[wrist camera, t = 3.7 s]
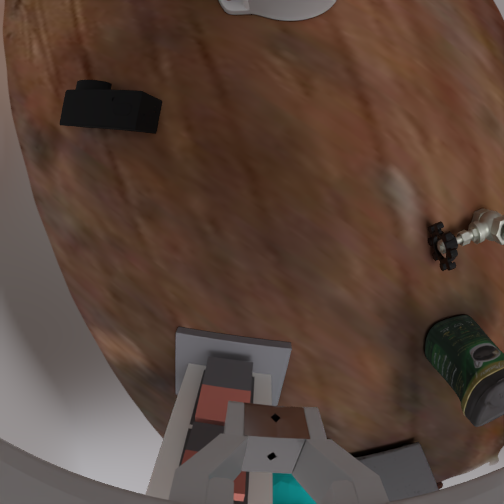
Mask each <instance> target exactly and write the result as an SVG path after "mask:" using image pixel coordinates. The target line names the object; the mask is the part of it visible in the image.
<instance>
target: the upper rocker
mask: <svg viewBox="0 0 504 504" xmlns="http://www.w3.org/2000/svg"><path fill="white" fill-rule="evenodd" d="M221 433H222V434H223V433H224V426H220V425H214V424H208V423H202V422H196V421H194V422H193V426H192V429H191V433H190V436H189V439H188V443H187V446H186V450H185V453H184V457H183V460H182V464H183V463H185V462H186V461H187V460H189V459H190V458H191V457H192V456H194V455H195V454H196V453H197V452H199V451H200V450H201V449H202V448H204V447H205V446H206V445H207V444H209V443H210V442H211V441H212V440H213V439H215V438H216V437H217V436H218V435H219V434H221ZM182 464H181V465H182ZM233 482H234V500H235V501H243V500H244V496H245V482H246V471H241V473H240V474H239V475H238V476H237V477H236V479H235V480H234V481H233Z"/></svg>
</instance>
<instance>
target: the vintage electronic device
mask: <svg viewBox="0 0 504 504" xmlns="http://www.w3.org/2000/svg"><path fill="white" fill-rule="evenodd" d="M354 458H355V457H354ZM356 459H357V460H358V461H360V462H361V463H362V464H364V465H365V466H367V467H368V468H369V469H371V470H372V471H373V472H375V473H376V474H377V475H379V476H380V479H381V481H382V484H383V487H384V489H385V492H386V494H387V497H388V500H389V502H391V501H396V500H401V499H406V498H410V497H415V496H419V495H423V494H427V493H430V492H434V491H438V490H439V489H440V488H442V486H443V484H442V482H439V483H436V481H435V479H434V476H433V474H432V471H431V469H430V467H429V464H428V462H427V459H426V457H425V455H424V452H423V450H422V448H421V445H420V443H419V442H416V443H413V444H409V445H408V444H403V445H401V446H399V448H395V449H391V450H387V451H383V452H379V453H375V454H370V455H366V456H361V457H356Z"/></svg>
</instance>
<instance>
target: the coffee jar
mask: <svg viewBox="0 0 504 504" xmlns="http://www.w3.org/2000/svg"><path fill="white" fill-rule="evenodd" d="M425 356H426V358H427V359H428V360H429V362H430V363H431V364H432V365H433V367H434V368H435V369H436V370H437V371H438V372H439V373H440V374H441V375H442V377H443V378H444V379H445V380H446V381H447V382H448V384H449V385H450V386H451V387H452V389H453V390H454V391H455V392H456V394H457V396H458V397H459V399H460V401H461V407H462V411H463V413H464V415H465V416H466V417H467V418H468V419H469V420H470V421H471V423H472V424H473V425H474V426H476V427H478V426H481V425H484V424H486V423H488V422H490V421H492V420H494V419H496V418H498V417H500V416H502V415H504V353H502V352H501V351H500V350H499V348H498V347H497V346H496V345H495V344H494V343H493V342H492V341H491V339H490V338H489V337H488V336H487V335H486V334H485V332H484V331H483V330H482V329H481V328H480V326H479V325H478V324H477V323H476V322H475V321H474V320H473V319H472V318H471V317H470V316H468V315H462V316H456V317H452V318H449V319H446V320H443V321H441V322H438V323H436V324H435V325H434V326H433V327H432V328H431V330H430V331H429V333H428V335H427V338H426V343H425Z"/></svg>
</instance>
